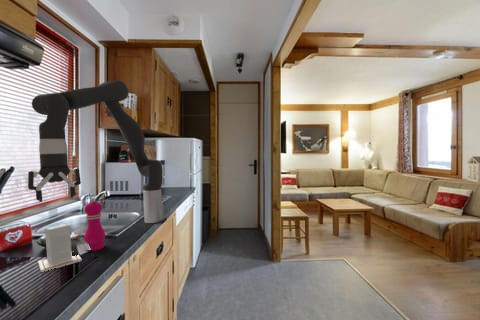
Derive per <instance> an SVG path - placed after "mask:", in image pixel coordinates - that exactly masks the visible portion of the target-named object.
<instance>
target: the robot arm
mask: <svg viewBox="0 0 480 320" xmlns="http://www.w3.org/2000/svg"><path fill="white" fill-rule="evenodd" d="M128 96H129V88H128V86H127V84H125V82H124V81H121V80H119V79H114V80H109V81H106V82H105V81H104V82H101V83H99V85H98V86H92V87H91V86H90V87H82V88H75V89H70V90H64V91H61V92H51V93H43V94H38V95H35V96H34V97H33V99H32V100H31V108H32V109H33V110H34V112H35V113H37V114H40V115H42V116H46V118H45V120H44V121H42V122H40V124H39V125H38V131H39V132H38V134H39V145H38V147H39V149H38V151H39V152H38V153H39V165H40V168H39V171H38V170H37V171H35V170H34V171H33V170H29V171H28V173H27V188H28V189H29V190H30V191H35V196H36V197H35V198H36V200H37V201H38V202H39V203H42V202H43V192H42V191H43V190H42V189H43V187H45V185H46V184H47V183H50V184H51V183H52V184H53V183H56V182H57V183H60V182H63V181H64V182H65V183H66V184H67V185H68V186H69V187H68V188H69V189H68V190H69V191H68V192H69V198H70V199H71V198H74V197H75V196H76V189H75V188H76V186H80V185H81V183H82V182H81V176H80V175H81V174H80V168H77V167H74V168H69V162H68V161H69V160H68V158H69V157H68V153H69V152H68V145H67V140H66V128H65V127H66V125H67V121H68V117H69V113H70V111H73V110H74V111H75V110H78V109H80V110H81V109H83V108H87V107H90V106H94V105H96V104H100V103H104V105H105V107H106V108H107V110H108V111H109V113H110V114H111V116H112V118H113V120H114V122H115V123H116V125H117V127H118V128H119V131H120V133H121V135H122V137H123V139H124V141H125V142H126V145H127V146H128V148H129V151H130V153H131V155H132V157H133V159H134V161H135V164H136V167H137V170H138V172H139V174H140V175H141V177H142V176H143V177H146V178H148V180H147V183H145V184H143V185H142V195H143V217H144V218H143V219H144V221H143V222H144V224H145V223H146V224H154V223H160V222H162V221H165V219H164V218H165V215H164V213H165V211H164V203H163V202H162V200H163V199H162V185H163V164H162V163H161V161H160V160H158V159H149V158H148V156H147V154H146V151H145V141H146V140H145V134H144V132H143V129H142V128H141V126H140V124H139V123H138V122H137V120H136V119H135V118H133V117H132V116H131V115H130V114H129V113H127V111H125V110H124V109H123V108H122V105H121V104H120V102H123V101H124V100H126V99H127V98H128ZM70 173H71V174H72V175H74V181H72V180H71V179H70V178H69V177H68V175H69V174H70ZM38 175H39V176H41V178H42V179H41V180H40V181H39V182H38V184H37V185H34V181H35V178H37V176H38Z"/></svg>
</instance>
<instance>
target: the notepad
mask: <svg viewBox="0 0 480 320" xmlns="http://www.w3.org/2000/svg"><path fill="white" fill-rule="evenodd" d="M82 260H83V259H82V257H81V256H80V255H79V254H78V255H77V256H76V255H75V256H72V258H69V259H67V260H64V261H61V262H58V263H56V264H53V265H52V264H50V263H48V262H47V258H44V259H39V260H37V262H38V267H39V270H40V273H41V272H42V273H45V272H49V271H52V270H55V269H54V268H56V269H58V268H62V267H65V265H66V266H69V265H73V264H75V263H76V264H77V263H79V262H82ZM51 269H52V270H51ZM48 270H49V271H48ZM44 271H45V272H44Z"/></svg>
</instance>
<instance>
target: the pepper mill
mask: <svg viewBox="0 0 480 320" xmlns="http://www.w3.org/2000/svg"><path fill="white" fill-rule="evenodd" d="M102 210H103V204H101V203H100V202H98V201H96V198H94V197H91V198H90V202H88V203H87V204H86V205H85V206H84V213H85V214H86V216H85V217H86V220H87V228H86V230H85V232H84V236H83V240H84V241H83V242H85V243H86V245H87V244H89V246H90V248H91V250H92V251H91V252H94V251H99V250H102V249H103V248H104V247H105V241H104V240H105V238H106V232H105V230H104V228H103V227H102V224H101V218H102V213H101V212H102Z"/></svg>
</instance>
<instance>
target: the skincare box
mask: <svg viewBox="0 0 480 320" xmlns="http://www.w3.org/2000/svg"><path fill="white" fill-rule="evenodd" d="M44 237H45V246H46V248H45V249H46V259H47V262H48V263H50V264H52V265H53V264H56V263H58V262H61V261H64V260H67V259H69V258H72V252H73V250H72V239H71V226H70V224H68V223H67V224H66V223H60V224H56V225H51V226H48V227H45V228H44Z"/></svg>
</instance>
